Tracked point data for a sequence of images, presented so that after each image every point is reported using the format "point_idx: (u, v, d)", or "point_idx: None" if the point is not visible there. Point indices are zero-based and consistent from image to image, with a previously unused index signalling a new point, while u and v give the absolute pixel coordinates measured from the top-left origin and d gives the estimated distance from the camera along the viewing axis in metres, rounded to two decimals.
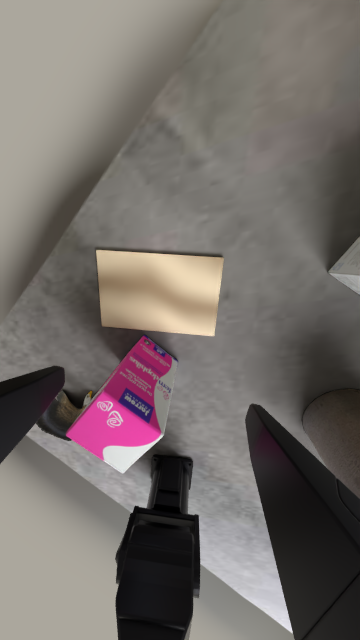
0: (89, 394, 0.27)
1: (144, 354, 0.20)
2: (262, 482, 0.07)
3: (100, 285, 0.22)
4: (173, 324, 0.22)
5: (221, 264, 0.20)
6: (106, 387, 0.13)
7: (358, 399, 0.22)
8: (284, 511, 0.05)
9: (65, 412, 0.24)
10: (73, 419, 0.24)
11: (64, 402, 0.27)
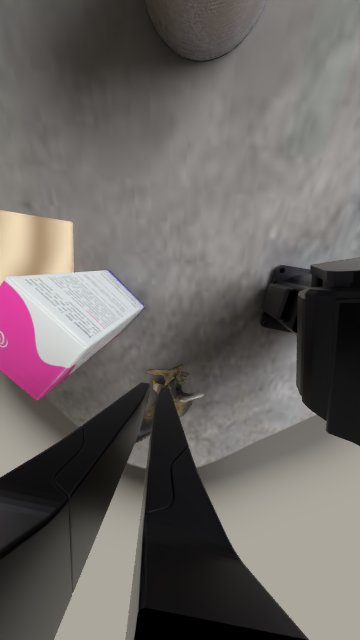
0: (153, 384, 0.24)
1: None
2: None
3: None
4: (61, 270, 0.20)
5: None
6: None
7: None
8: (145, 482, 0.06)
9: (151, 412, 0.21)
10: None
11: None
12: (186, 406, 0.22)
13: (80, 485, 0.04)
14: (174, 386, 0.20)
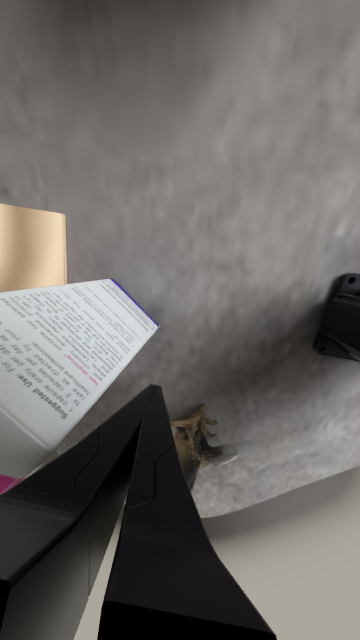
0: None
1: None
2: None
3: None
4: (51, 278, 0.15)
5: None
6: None
7: None
8: None
9: None
10: (181, 465, 0.16)
11: None
12: None
13: (100, 489, 0.04)
14: (198, 440, 0.16)
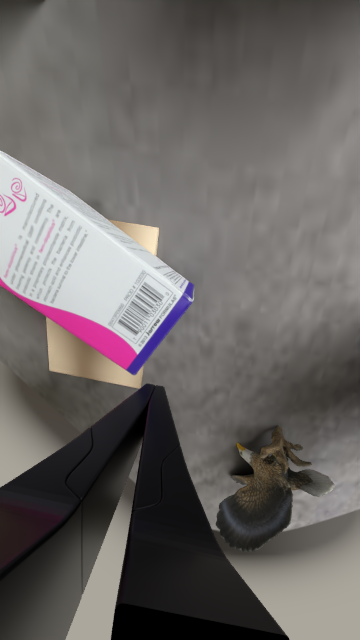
0: (239, 448, 0.19)
1: None
2: None
3: (88, 376, 0.18)
4: None
5: None
6: None
7: None
8: None
9: (250, 496, 0.16)
10: (264, 491, 0.16)
11: (246, 482, 0.19)
12: None
13: (91, 487, 0.04)
14: None
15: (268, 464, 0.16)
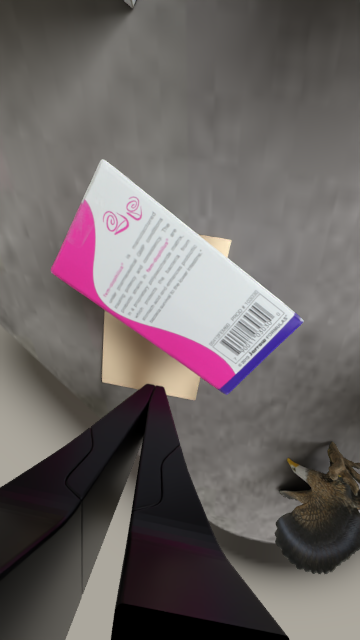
0: (292, 464, 0.18)
1: None
2: None
3: None
4: None
5: None
6: None
7: None
8: None
9: (309, 514, 0.16)
10: (326, 509, 0.16)
11: (297, 498, 0.19)
12: None
13: (91, 488, 0.04)
14: (350, 485, 0.15)
15: (328, 482, 0.16)
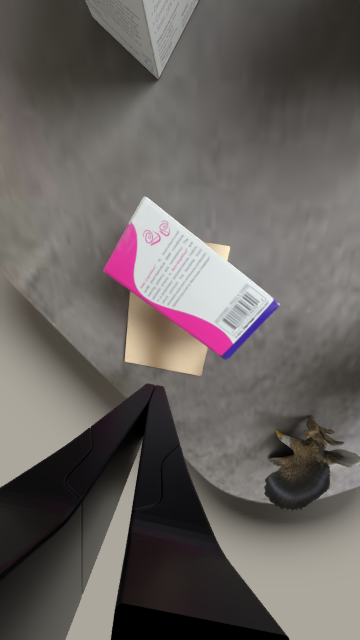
0: (279, 435, 0.23)
1: None
2: None
3: (157, 366, 0.21)
4: None
5: None
6: None
7: None
8: None
9: (291, 471, 0.20)
10: (304, 466, 0.20)
11: (284, 463, 0.23)
12: None
13: (92, 487, 0.04)
14: (322, 446, 0.19)
15: (306, 445, 0.20)
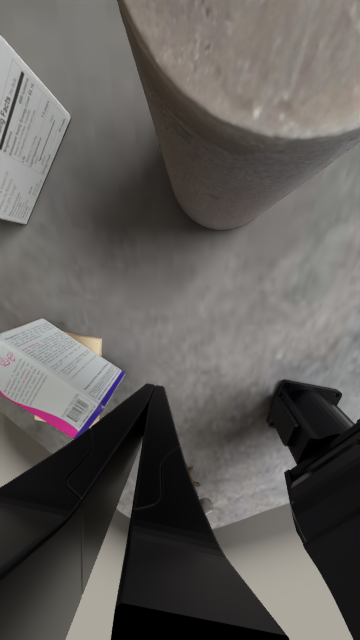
0: None
1: None
2: None
3: None
4: None
5: None
6: None
7: None
8: None
9: None
10: None
11: None
12: None
13: (91, 487, 0.04)
14: None
15: None
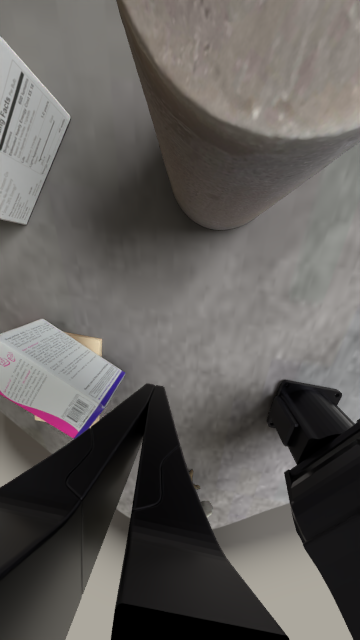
0: None
1: None
2: None
3: None
4: None
5: None
6: None
7: None
8: None
9: None
10: None
11: None
12: None
13: (92, 488, 0.04)
14: None
15: None
